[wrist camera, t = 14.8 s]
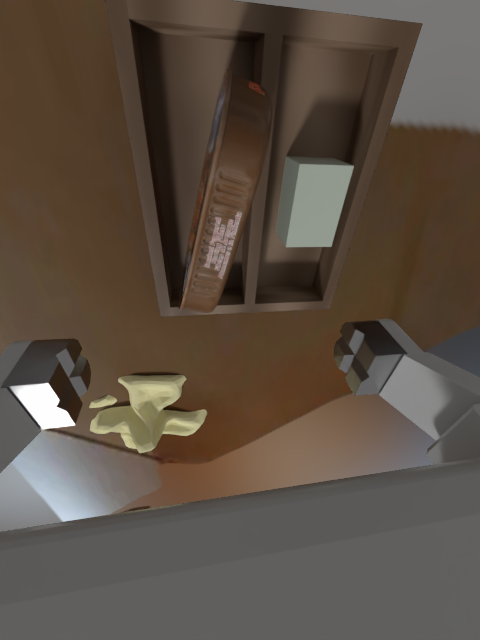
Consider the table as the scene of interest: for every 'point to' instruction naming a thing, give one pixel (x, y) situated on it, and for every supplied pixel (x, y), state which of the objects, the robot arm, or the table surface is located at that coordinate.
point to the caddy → (285, 136)
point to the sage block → (311, 200)
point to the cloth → (146, 412)
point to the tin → (225, 189)
